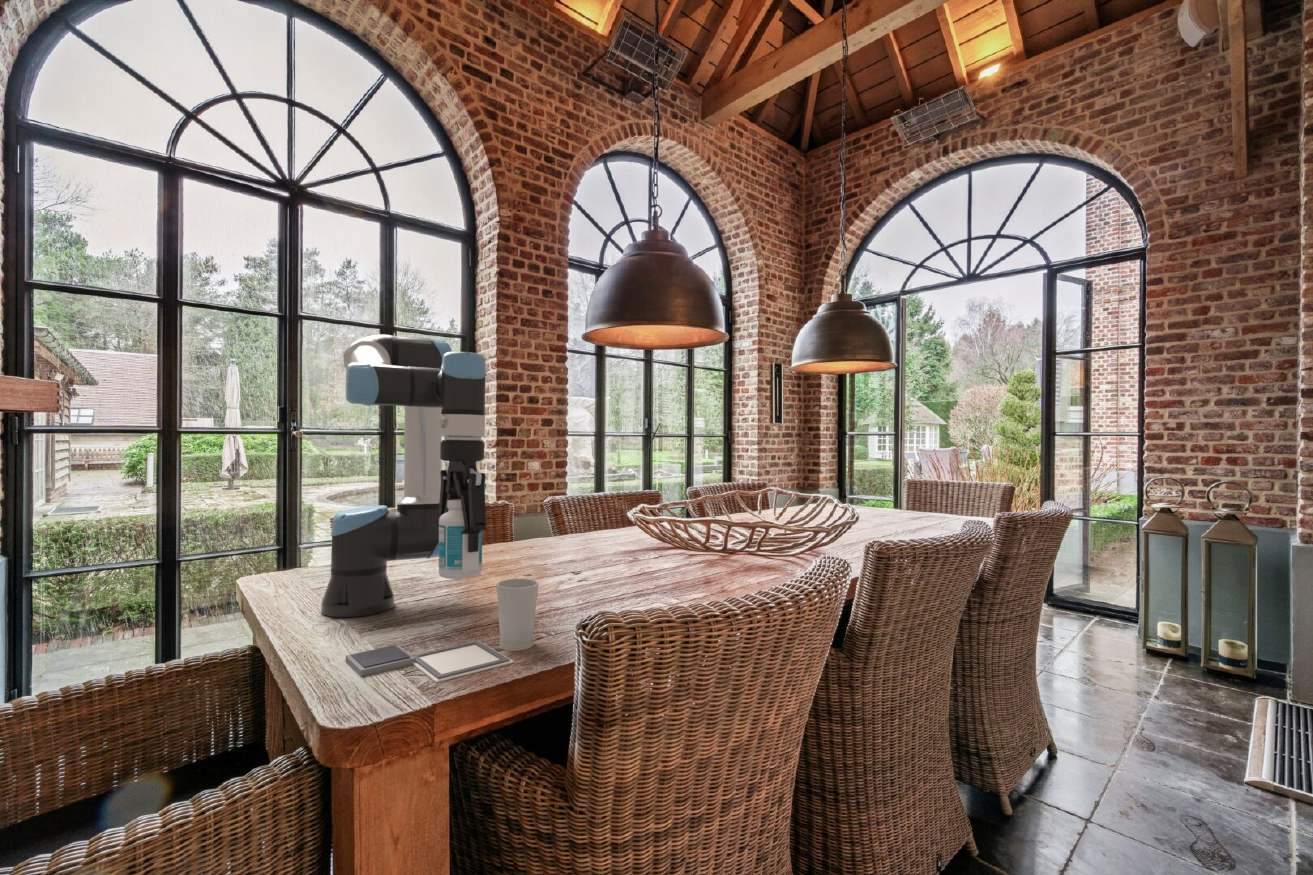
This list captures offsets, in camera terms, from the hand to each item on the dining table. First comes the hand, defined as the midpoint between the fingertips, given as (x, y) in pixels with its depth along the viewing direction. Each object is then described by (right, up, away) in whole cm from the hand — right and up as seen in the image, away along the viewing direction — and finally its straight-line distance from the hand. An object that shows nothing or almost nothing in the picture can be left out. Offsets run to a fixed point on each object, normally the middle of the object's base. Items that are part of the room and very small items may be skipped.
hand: (460, 566), depth 108 cm
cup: (+8, -17, +9) cm, 21 cm away
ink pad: (-14, -17, -1) cm, 22 cm away
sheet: (0, -17, 0) cm, 17 cm away
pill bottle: (0, -2, 0) cm, 2 cm away
